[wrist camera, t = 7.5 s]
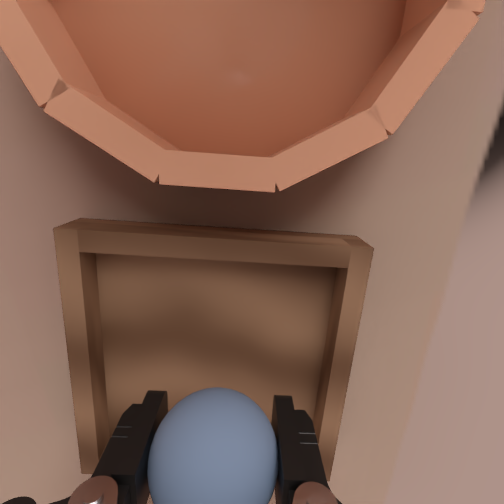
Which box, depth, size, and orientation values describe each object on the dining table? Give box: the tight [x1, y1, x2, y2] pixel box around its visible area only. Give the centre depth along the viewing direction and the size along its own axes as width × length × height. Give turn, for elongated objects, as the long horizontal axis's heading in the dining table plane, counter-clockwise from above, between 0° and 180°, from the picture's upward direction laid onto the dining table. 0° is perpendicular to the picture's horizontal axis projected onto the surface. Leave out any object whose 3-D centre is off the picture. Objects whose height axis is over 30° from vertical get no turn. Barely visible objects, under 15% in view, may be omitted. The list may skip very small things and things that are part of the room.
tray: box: [53, 218, 374, 481], centre depth 17 cm, size 14×14×2 cm
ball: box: [147, 387, 278, 504], centre depth 11 cm, size 4×4×4 cm
